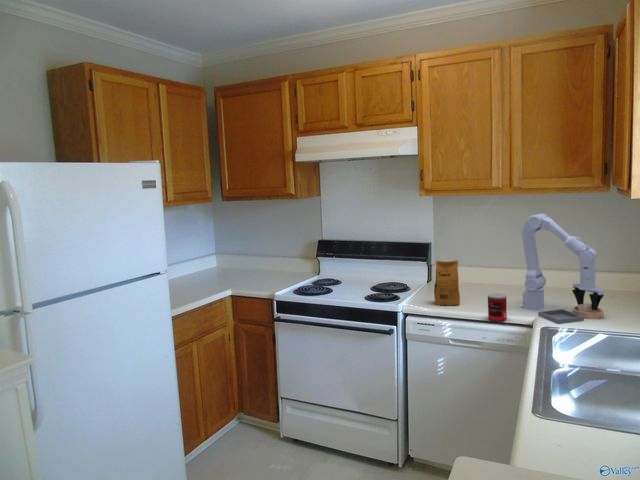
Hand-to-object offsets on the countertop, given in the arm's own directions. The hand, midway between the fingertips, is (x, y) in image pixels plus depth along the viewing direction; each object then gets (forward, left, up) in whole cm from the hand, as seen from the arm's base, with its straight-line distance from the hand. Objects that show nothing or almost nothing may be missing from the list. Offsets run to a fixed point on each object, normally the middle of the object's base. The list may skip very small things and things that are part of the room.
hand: (587, 307), depth 207 cm
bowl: (0, 0, -4) cm, 4 cm away
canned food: (-10, -36, -4) cm, 38 cm away
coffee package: (-43, -44, -4) cm, 62 cm away
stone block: (0, 0, -3) cm, 3 cm away
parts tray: (0, -13, -4) cm, 13 cm away
